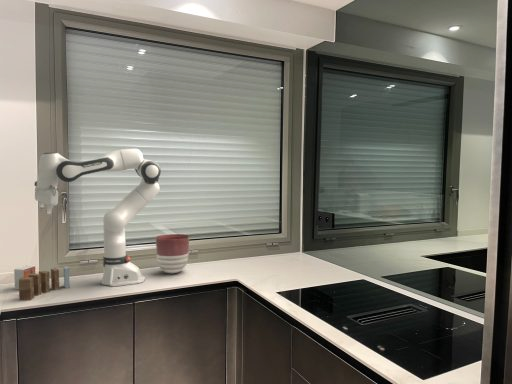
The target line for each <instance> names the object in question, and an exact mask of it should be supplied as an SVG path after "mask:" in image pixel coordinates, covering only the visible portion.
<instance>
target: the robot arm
mask: <svg viewBox="0 0 512 384" xmlns="http://www.w3.org/2000/svg"><path fill="white" fill-rule="evenodd" d="M130 169H131V170H132V169H133V170H134V171H135V173H136V174H137V175H138V176H139V177H140V178H141V182H140V183H139V184H138V185H137V186H136V187H135V188H134V189H132V190H131V191H130V192H129V193H128V194H127V195H126V196H125V197H124V198H123V199H122V200H120V201H119V203H117V205H116V206H115V207H114V208H112V209H109V210H108V211H107V212H106V213H105V214H103V215H104V216H103V220H102V221H103V258H102V266H103V273H102V279H101V282H100V283H101V284H102V285H104V286H110V287H118V286H119V287H120V286H129V285H136V284H143V283H144V282H145V281H146V277H145V275H144V274H141V269H140V268H139V267H138V266H137V265H135V264H134V263H132V262H131V257H130V255H128V254H127V251H126V250H127V249H126V248H127V247H126V246H127V245H126V244H127V243H126V242H127V241H126V227H127V225H128V224H130V223H131V221H132V220H133V219H134V218H135V217H136V216H137V215H138V214H139V213H140V212H141V211H143V209H144V208H145V207H146V206H147V205H149V204H150V203H151V202H152V201H153V200H154V198H155V197H156V196H157V195H158V194H159V192H160V190H161V188H160V184H159V183H158V181H159V179H160V177H161V174H162V173H161V172H162V170H161V166H160V164H158V163H157V162H156V161H154V160H150V159H145V158H144V155H143V152H141V150H140V149H138V148H122V149H117V150H113V151H110V152H107V153H105V154H103V155H102V156H100V157H99V158H96V159H92V160H86V161H81V162H75V161H72V160H70V159H67V158H65V157H64V156H63V155H62V154H60V153H59V152H44V153H43V154H41V155H40V158H39V162H38V176H37V180H36V181H34V182H33V183H34V184H33V185H34V200H35V201H37V202H38V207H39V211H41V212H44V211H45V205H47V209H46V212H45V213H46V214H47V215H51V214H52V212H53V211H52V210H53V209H54V206H57V205H58V204H59V192H58V190H57V189H58V183H59V179H60V180H61V181H63V182H65V183H71V182H74V181H75V180H78V179H79V178H80V177H82V176H84V175H89V174H95V173H98V172H99V173H100V172H121V171H126V170H130Z"/></svg>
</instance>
